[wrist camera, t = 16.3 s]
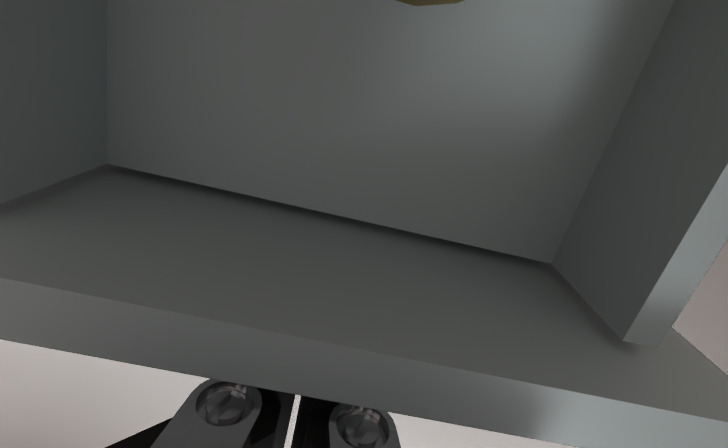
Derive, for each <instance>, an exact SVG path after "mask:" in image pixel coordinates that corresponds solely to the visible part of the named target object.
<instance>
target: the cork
mask: <svg viewBox="0 0 728 448" xmlns="http://www.w3.org/2000/svg"><path fill="white" fill-rule="evenodd" d="M396 1H399V2H403V3H406V4H409V5H413V6H426V5H441V4H456V3H459V2H462V1H464V0H396Z"/></svg>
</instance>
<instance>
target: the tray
mask: <svg viewBox="0 0 728 448" xmlns="http://www.w3.org/2000/svg"><path fill="white" fill-rule="evenodd" d="M727 239H728V0H464V1H462V2H459V3H456V4H441V5H426V6H413V5H409V4H406V3H403V2H399V1H396V0H0V339H2V340H8V341H13V342H18V343H24V344H29V345H34V346H40V347H45V348H50V349H56V350H61V351H66V352H72V353H77V354H82V355H88V356H93V357H98V358H104V359H109V360H115V361H120V362H125V363H131V364H136V365H141V366H147V367H152V368H157V369H163V370H168V371H173V372H179V373H184V374H189V375H195V376H200V377H205V378H211V379H216V380H221V381H227V382H232V383H237V384H243V385H248V386H253V387H259V388H264V389H270V390H275V391H280V392H286V393H291V394H296V395H302V396H307V397H312V398H318V399H323V400H328V401H334V402H339V403H344V404H350V405H355V406H360V407H366V408H371V409H376V410H382V411H387V412H392V413H398V414H403V415H408V416H414V417H419V418H424V419H430V420H435V421H441V422H446V423H451V424H457V425H462V426H467V427H473V428H478V429H483V430H489V431H494V432H499V433H505V434H510V435H515V436H521V437H526V438H531V439H537V440H542V441H547V442H553V443H558V444H563V445H569V446H574V447H579V448H728V375H726V374H725V373H724V372H723V371H722V370H721V369H720V368H718V367H717V366H716V365H715V364H714V363H713V362H711V361H710V360H709V359H708V358H707V357H706V356H704V355H703V354H702V353H701V352H700V351H699V350H697V349H696V348H695V347H694V346H693V345H692V344H691V343H689V342H688V341H687V340H686V339H685V338H684V337H682V336H681V335H680V334H679V333H678V332H677V331H675V330H674V329H673V328H672V325H673V324H674V322H675V320H676V319H677V317H678V316H679V314H680V313H681V311H682V310H683V308H684V306H685V305H686V303H687V302H688V300H689V299H690V297H691V295H692V294H693V292H694V291H695V289H696V288H697V286H698V285H699V283H700V281H701V280H702V278H703V277H704V275H705V274H706V272H707V270H708V269H709V267H710V266H711V264H712V263H713V261H714V260H715V258H716V256H717V255H718V253H719V252H720V250H721V249H722V247H723V246H724V244H725V242H726V241H727Z"/></svg>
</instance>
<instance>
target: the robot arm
mask: <svg viewBox="0 0 728 448" xmlns="http://www.w3.org/2000/svg"><path fill="white" fill-rule="evenodd" d="M294 398H295V394H291V393H286V392H280V391H275V390H270V389H264V388H259V387H253V386H248V385H243V384H237V383H232V382H227V381H221V380H216V379H209V380H207V381H205V382H203V383H202V384H200V385H199V386H198V387H197V388H196V389H195V390H194V391H193V392H192V393H191V394H190V396H189V397H188V398H187V400H186V401H185V402H184V404H183V405H182V406H181V407H180V409H179V410H178V411H177V413H176V414H175V415H174V417H173V418H170V419H168V420H166V421H164V422H161V423H159V424H157V425H155V426H152V427H150V428H148V429H146V430H144V431H141V432H139V433H137V434H135V435H132V436H130V437H128V438H126V439H123V440H121V441H119V442H117V443H114V444H112V445H110V446H108V447H106V448H284V444H285V440H286V435H287V430H288V426H289V421H290V417H291V412H292V407H293V403H294ZM291 448H401V446H400V442H399V438H398V434H397V430H396V426H395V424H394V422H393V419H392V418H391V416H390V415H389V414H388V413H387V411H382V410H376V409H371V408H366V407H360V406H355V405H350V404H344V403H339V402H334V401H328V400H323V399H318V398H312V397H307V396H302V395H301V400H300V405H299V410H298V415H297V420H296V425H295V430H294V435H293V440H292V445H291Z"/></svg>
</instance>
